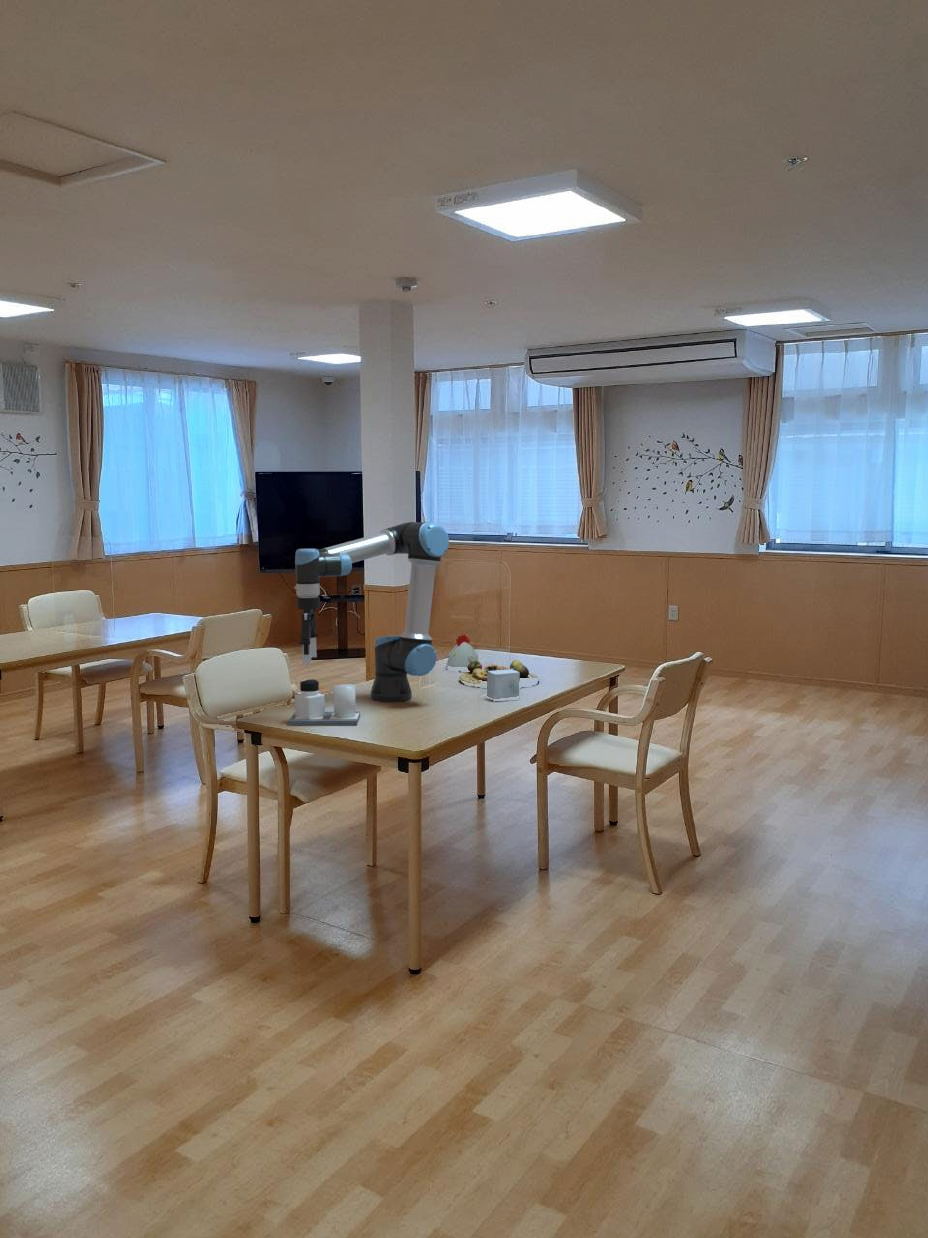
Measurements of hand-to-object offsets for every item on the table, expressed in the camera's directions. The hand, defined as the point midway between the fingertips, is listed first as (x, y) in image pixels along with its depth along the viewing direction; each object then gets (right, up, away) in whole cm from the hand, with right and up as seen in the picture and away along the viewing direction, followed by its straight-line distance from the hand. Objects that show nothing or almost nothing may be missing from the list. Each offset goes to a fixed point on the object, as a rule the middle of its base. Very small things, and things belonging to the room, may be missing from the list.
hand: (309, 660), depth 333 cm
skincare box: (+65, -16, +38) cm, 77 cm away
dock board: (+5, -20, +3) cm, 21 cm away
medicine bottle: (0, -19, +2) cm, 19 cm away
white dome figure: (+50, -8, +99) cm, 111 cm away
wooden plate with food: (+65, -12, +72) cm, 97 cm away
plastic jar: (+11, -18, +2) cm, 22 cm away
